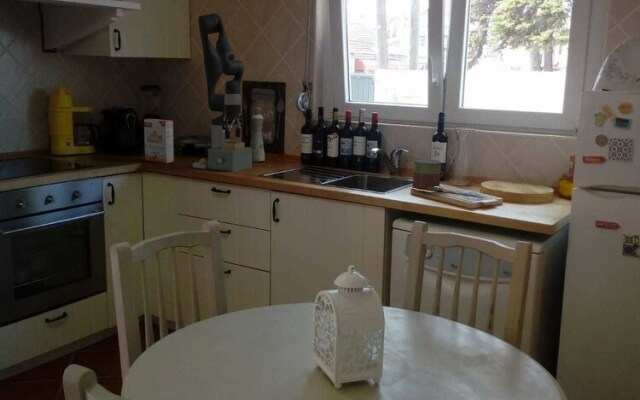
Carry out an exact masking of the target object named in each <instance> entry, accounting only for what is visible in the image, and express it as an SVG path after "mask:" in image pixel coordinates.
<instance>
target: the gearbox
mask: <svg viewBox="0 0 640 400" xmlns="http://www.w3.org/2000/svg"><path fill="white" fill-rule="evenodd" d="M207 162H208V168H207V170H208V169H209V170H215V171H224V172H230V173H232V174H235V173H238V172H244V171H243V170H245V171H247V170H252V169H253V162H252V148H250V146H249V147H247V146H246V147H245V142H241V141H232V140H230V141H228V142H222V143H221V147H216V148H212V147H211V148H210V147H209V148H207Z"/></svg>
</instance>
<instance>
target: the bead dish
mask: <svg viewBox="0 0 640 400" xmlns="http://www.w3.org/2000/svg"><path fill="white" fill-rule="evenodd" d="M192 168H194V169H197V168H198V169H203V170H206V169H208V164H199V161H198V162H193V163H192Z"/></svg>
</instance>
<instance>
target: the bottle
mask: <svg viewBox="0 0 640 400" xmlns="http://www.w3.org/2000/svg"><path fill="white" fill-rule="evenodd" d="M253 110H254V111H253V113H254V114H253V115H252V116H251V117H250V119H251V127H252V132H251V136H250V137H251V138H250V142H249V144H250V145H249V148H252V163H260V162H265V160H266V157H265V156H266V155H265V148H264V141H263V134H262V131H263V130H262V128H263V121H264V116H263V115H261V113H262V108H261V107H259V106H257V107H254V108H253Z"/></svg>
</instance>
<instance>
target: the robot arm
mask: <svg viewBox="0 0 640 400" xmlns="http://www.w3.org/2000/svg"><path fill="white" fill-rule="evenodd" d="M197 23H198V29H199V35H200V40H201V44H202V45H201V46H202V47H201V48H202V53H203V54H202V56H203V63H204V71H205V77H206V86H207V103H208V108H209V110H210V112H219V113H221V114H220V116H218V117H215V118H214V117H213V119H211V123H210V124H211V148H216V147H221V143H222V142H228V141H231V129H232V128H233V127H234V128H235V137H236V138H241V130H242V129H243V128H244V115H241V114H242V97H241V85H242V81H243V76H244V73H245V64H244V62H243V61H242V60H239V59H235V56H236V55H235V52H234V49H233V48H232V46H231V44H230V42H229V39H228V35H227V32H226V29H225V25H224V23H223V19H222V17H221V15H220V14H218V13H208V14H201V15H199V17H198V21H197ZM217 33H218V37H217V40H216V43H215V47H214V45H213V44H212V43H211V40H210V39H209V35H212V34H217ZM223 75H225V76H233V78H232V79H231V80H227V81H226V82H225V84H224V91H225V92H224V93H216V91H215V90H216V86H217V85H218V83H219V80H220V79H221V77H222V76H223Z"/></svg>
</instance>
